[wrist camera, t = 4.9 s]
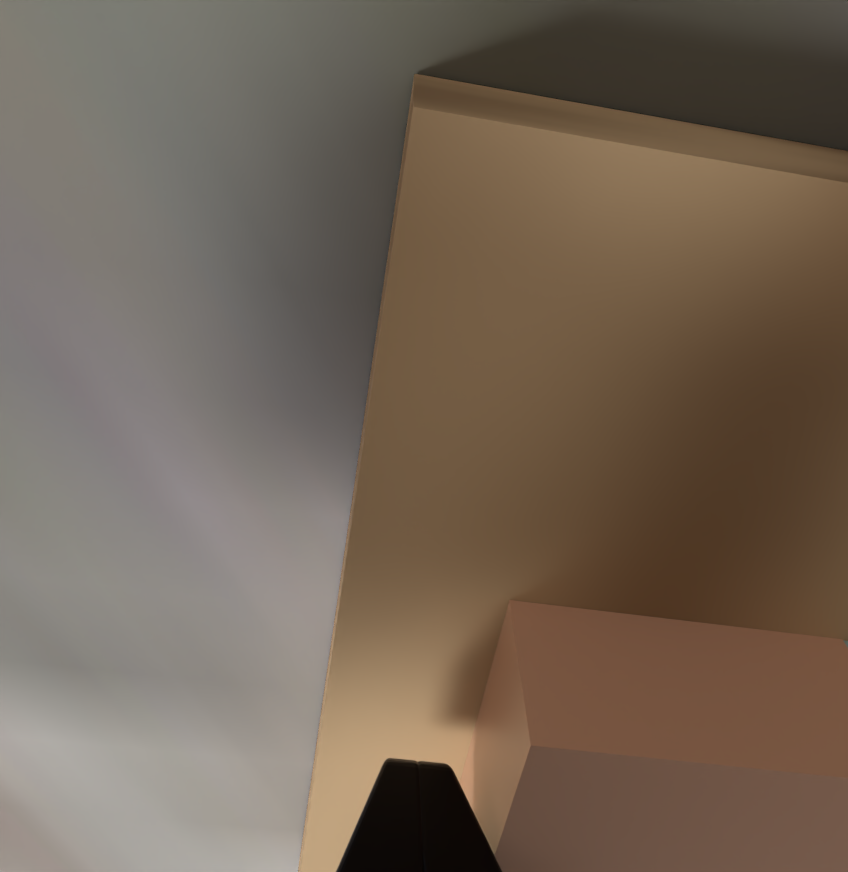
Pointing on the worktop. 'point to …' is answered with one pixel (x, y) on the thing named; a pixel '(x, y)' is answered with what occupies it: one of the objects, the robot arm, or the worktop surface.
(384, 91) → the worktop surface
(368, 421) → the tan rectangular slab
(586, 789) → the terracotta block
